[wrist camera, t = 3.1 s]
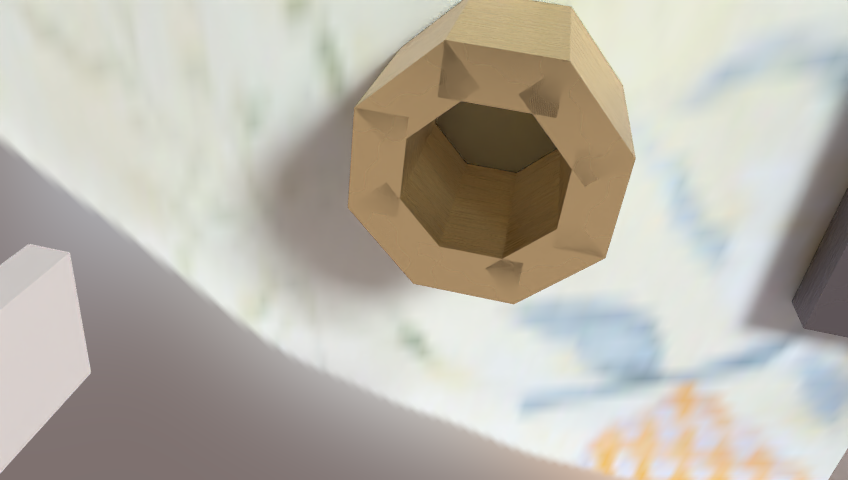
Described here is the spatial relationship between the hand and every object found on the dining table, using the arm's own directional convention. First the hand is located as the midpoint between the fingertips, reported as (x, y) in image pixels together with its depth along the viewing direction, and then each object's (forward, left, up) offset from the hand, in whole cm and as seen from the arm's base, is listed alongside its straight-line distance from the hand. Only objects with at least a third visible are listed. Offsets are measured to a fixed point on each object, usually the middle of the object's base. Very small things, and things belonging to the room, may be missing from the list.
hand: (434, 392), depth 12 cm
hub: (0, 0, -13) cm, 13 cm away
